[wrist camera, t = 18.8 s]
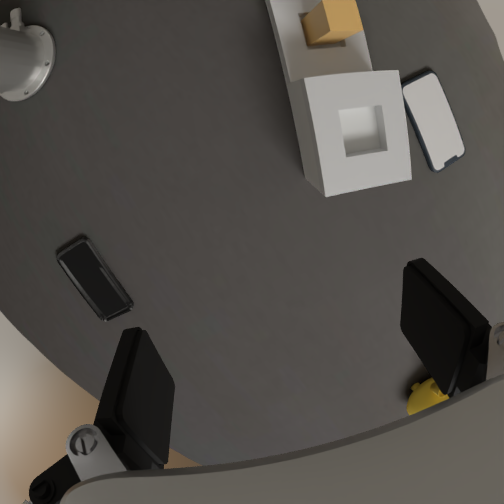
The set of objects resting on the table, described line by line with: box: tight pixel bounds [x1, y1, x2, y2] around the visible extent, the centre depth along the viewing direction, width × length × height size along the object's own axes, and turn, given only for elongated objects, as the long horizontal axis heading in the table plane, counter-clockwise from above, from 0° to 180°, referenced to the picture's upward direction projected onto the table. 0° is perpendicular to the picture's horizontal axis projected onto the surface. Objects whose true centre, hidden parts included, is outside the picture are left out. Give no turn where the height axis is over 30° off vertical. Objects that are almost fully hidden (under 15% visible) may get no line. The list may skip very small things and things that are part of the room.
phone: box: [57, 237, 134, 321], centre depth 49 cm, size 8×1×15 cm
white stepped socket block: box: [265, 0, 412, 197], centre depth 35 cm, size 28×12×10 cm, turn 13°
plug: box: [301, 0, 363, 46], centre depth 31 cm, size 4×4×10 cm
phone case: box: [401, 71, 465, 173], centre depth 42 cm, size 9×2×16 cm
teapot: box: [407, 378, 449, 415], centre depth 65 cm, size 20×16×14 cm
